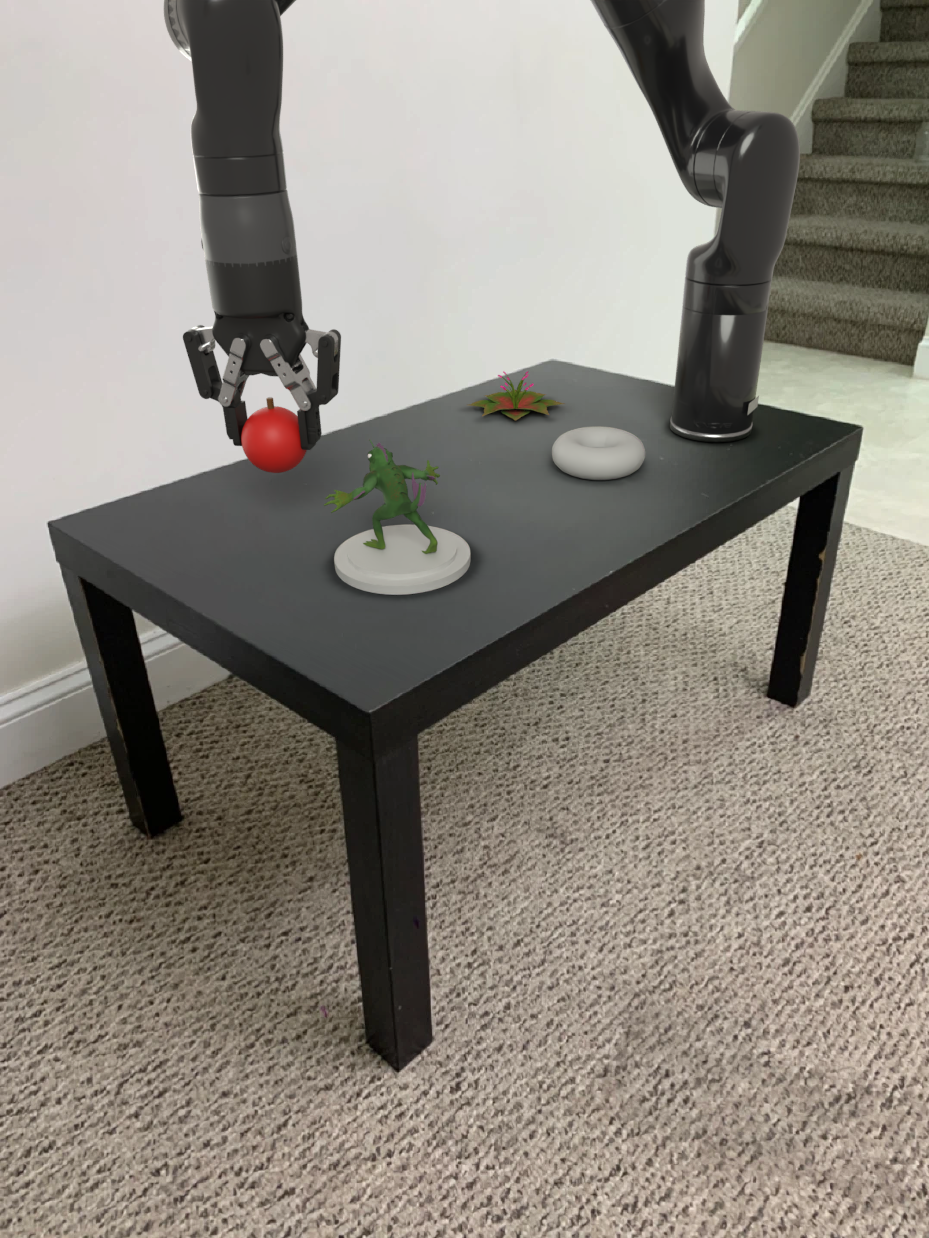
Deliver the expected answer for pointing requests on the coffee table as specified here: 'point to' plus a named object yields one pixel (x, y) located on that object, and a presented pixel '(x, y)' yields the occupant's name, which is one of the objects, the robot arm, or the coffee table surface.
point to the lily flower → (515, 401)
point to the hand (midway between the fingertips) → (275, 444)
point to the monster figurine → (398, 536)
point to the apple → (272, 439)
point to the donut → (598, 453)
